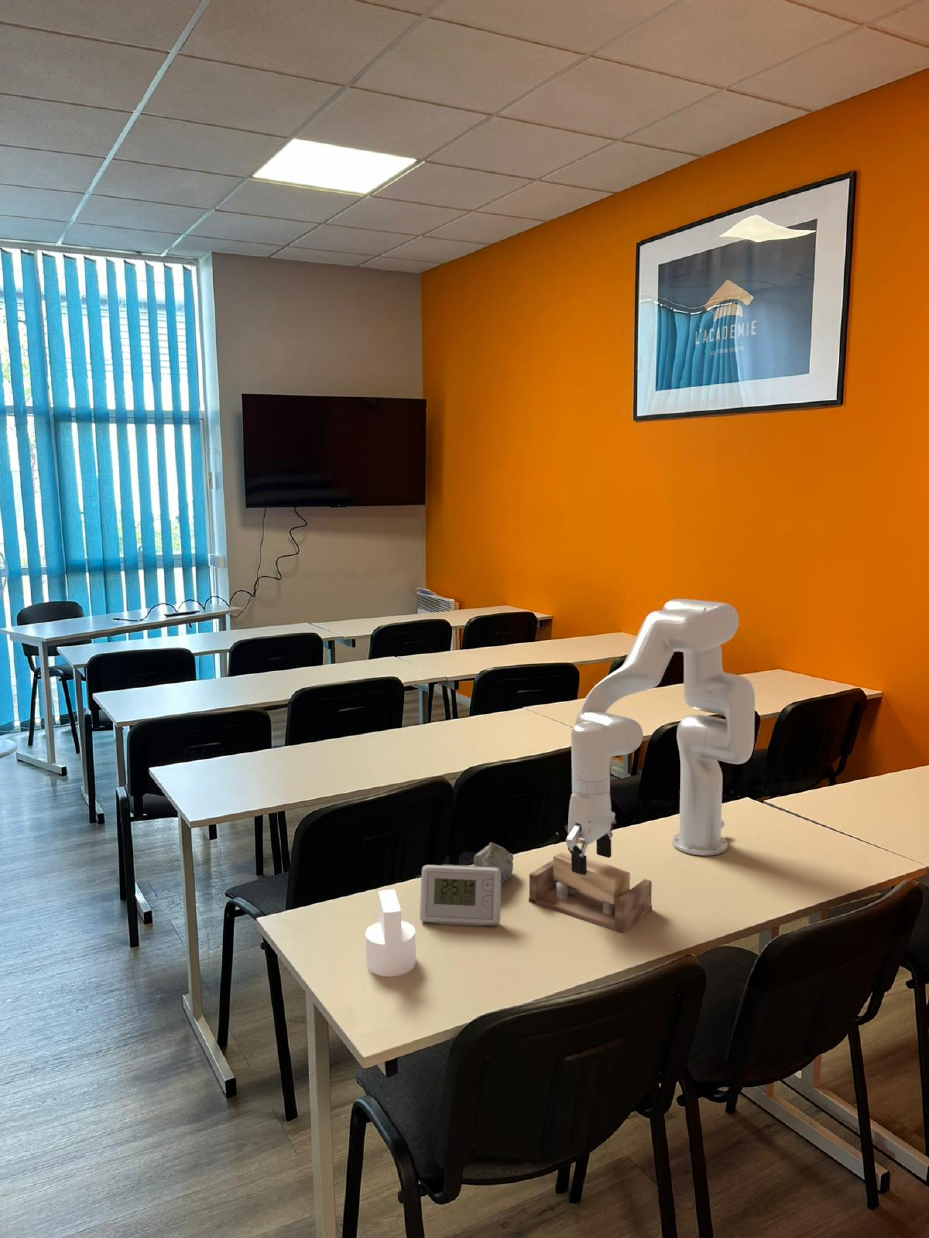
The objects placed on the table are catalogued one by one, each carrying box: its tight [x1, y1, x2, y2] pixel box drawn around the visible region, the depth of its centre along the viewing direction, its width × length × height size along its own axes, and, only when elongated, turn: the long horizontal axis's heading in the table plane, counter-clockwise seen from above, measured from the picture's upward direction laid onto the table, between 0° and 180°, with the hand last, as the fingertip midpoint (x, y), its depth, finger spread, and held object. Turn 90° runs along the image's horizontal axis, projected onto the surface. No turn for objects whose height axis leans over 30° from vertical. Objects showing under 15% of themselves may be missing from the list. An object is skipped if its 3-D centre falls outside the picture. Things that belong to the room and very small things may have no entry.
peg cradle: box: [528, 859, 653, 933], centre depth 183 cm, size 12×22×6 cm, turn 51°
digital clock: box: [419, 864, 502, 927], centre depth 178 cm, size 16×9×11 cm, turn 71°
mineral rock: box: [473, 842, 514, 886], centre depth 193 cm, size 13×11×10 cm
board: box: [552, 849, 631, 905], centre depth 183 cm, size 5×16×5 cm, turn 41°
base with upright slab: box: [364, 889, 417, 977], centre depth 162 cm, size 9×9×12 cm
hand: (591, 864), depth 183 cm, fingers open, 9 cm apart
